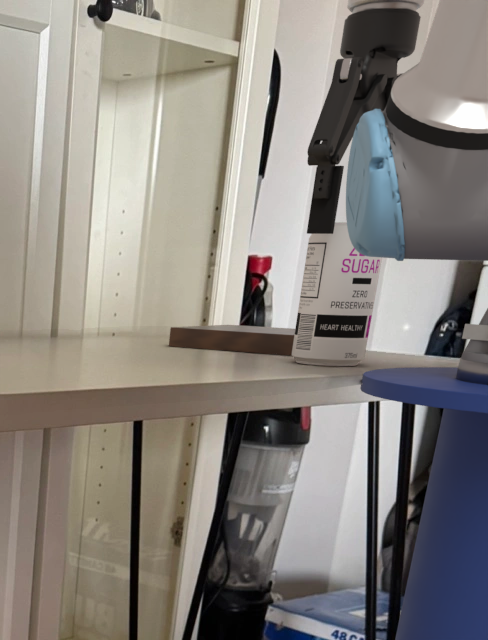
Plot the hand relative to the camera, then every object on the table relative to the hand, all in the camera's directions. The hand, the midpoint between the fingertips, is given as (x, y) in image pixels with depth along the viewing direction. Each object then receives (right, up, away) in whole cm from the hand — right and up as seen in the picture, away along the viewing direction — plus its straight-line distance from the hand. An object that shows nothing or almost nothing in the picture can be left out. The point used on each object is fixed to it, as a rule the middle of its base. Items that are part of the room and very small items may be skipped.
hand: (346, 235), depth 117 cm
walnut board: (-2, -3, +27) cm, 27 cm away
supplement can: (0, -13, +5) cm, 14 cm away
